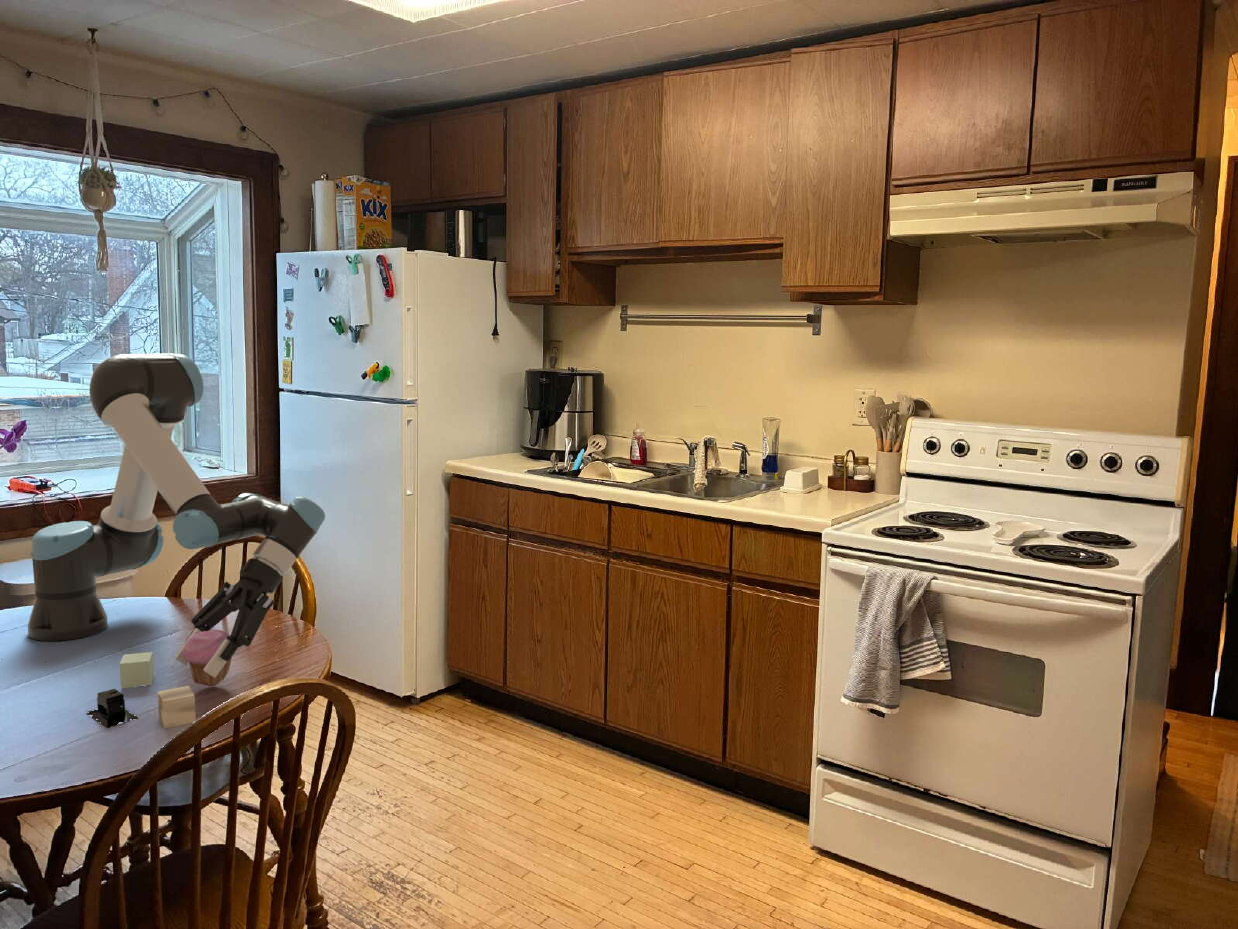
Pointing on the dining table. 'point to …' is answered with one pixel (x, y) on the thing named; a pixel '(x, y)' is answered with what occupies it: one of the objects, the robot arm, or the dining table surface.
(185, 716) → the birch block
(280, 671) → the dining table surface
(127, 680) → the sage block
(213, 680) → the cupcake
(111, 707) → the black piece
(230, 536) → the robot arm
